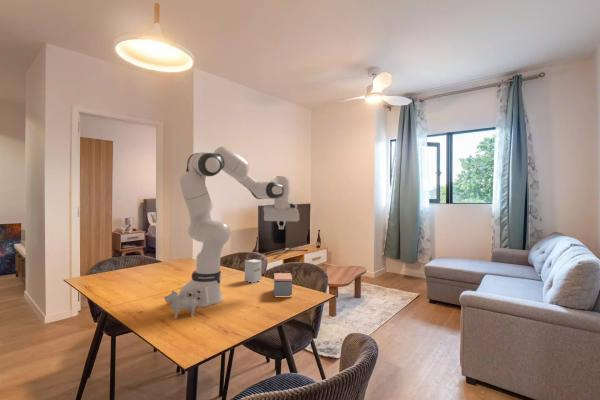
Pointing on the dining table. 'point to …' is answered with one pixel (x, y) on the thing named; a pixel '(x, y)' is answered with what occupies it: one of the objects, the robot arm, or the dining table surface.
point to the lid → (282, 277)
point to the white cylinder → (253, 270)
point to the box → (282, 288)
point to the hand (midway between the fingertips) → (281, 229)
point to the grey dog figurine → (181, 303)
